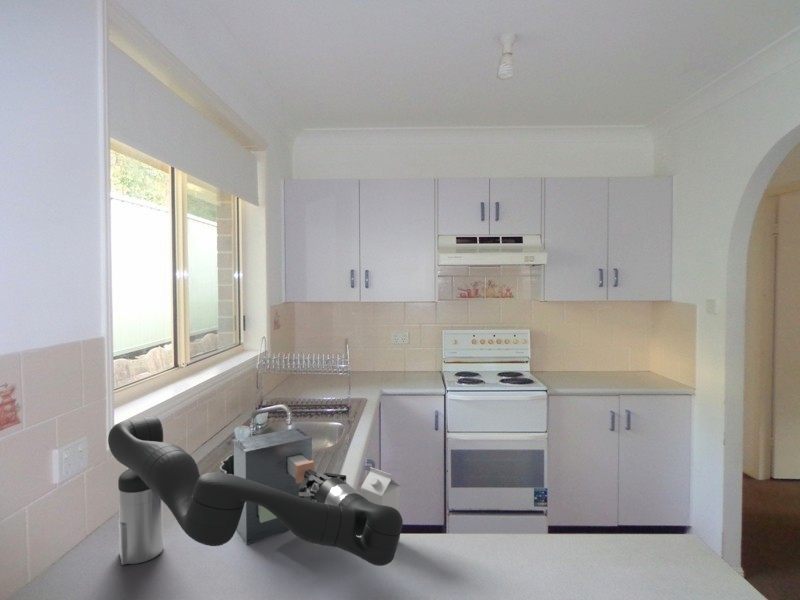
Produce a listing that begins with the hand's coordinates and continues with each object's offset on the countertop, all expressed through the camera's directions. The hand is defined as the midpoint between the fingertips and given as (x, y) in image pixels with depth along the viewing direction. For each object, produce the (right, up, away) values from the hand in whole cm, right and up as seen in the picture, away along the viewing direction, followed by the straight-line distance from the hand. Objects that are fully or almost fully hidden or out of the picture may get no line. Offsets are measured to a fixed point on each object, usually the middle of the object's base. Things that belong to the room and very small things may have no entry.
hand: (307, 473), depth 119 cm
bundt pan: (-19, -17, +29) cm, 39 cm away
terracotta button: (-3, -2, +5) cm, 6 cm away
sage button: (-12, -12, +4) cm, 17 cm away
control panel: (-11, -17, +9) cm, 23 cm away
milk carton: (+18, -18, +1) cm, 26 cm away
